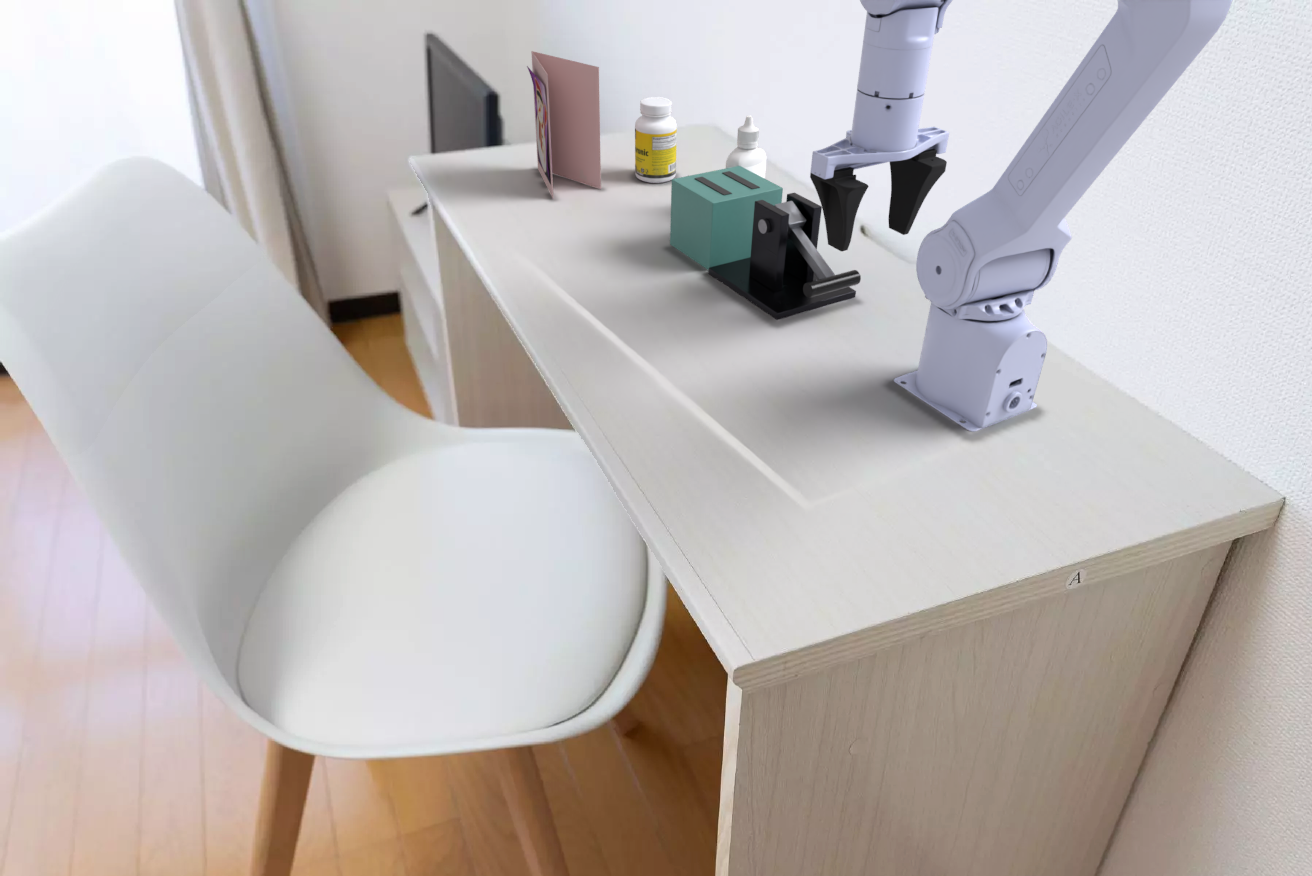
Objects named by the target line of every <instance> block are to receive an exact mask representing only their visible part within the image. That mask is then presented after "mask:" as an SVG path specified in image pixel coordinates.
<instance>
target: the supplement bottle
mask: <svg viewBox="0 0 1312 876" xmlns="http://www.w3.org/2000/svg"><path fill="white" fill-rule="evenodd" d="M672 105H673V101H672V100H671V99H669V98H666V97H661V96H650V97H649V96H648V97H645V98H643V99H641V100H640V102H639V113H640V114H641V116H639V117H638V118H637V119H636V121H635V123H634V174H635V178H637V179H638V180H640V181H641V182H645V183H650V184H660V183H661V184H662V183H667V182H671V181H672V179H675V178H676V175H677V142H678V141H677V136H678V134H677V133H678V124H677V121H676V119H675V118H674V117H673V116H671V115H672V110H673V109H672V108H673V106H672Z"/></svg>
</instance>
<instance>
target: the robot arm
mask: <svg viewBox="0 0 1312 876" xmlns="http://www.w3.org/2000/svg"><path fill="white" fill-rule="evenodd" d="M859 1H860V4H861V6H862V8H863V9H864V10H865V11H866V17H865V22H864V24H865V25H864V30H863V31H864V32H863V39H862V48H861V56H860V62H859V71H858V79H857V84H856V85H857V87H856V95H855V101H854V110H853V118H852V125H851V129H848V130H847V131H846V134H845V137H844V138H843V139H841V140H839V141H836V142H835V143H833V144H830V145H828V146H826V147H824V148H820V149H817V150H813V151H812V154H811V164H810V174H809V175H810V176H809V178H810V180H811V183H812V185H813V186H814V189H815V191H816V193H817V195H818V198H819V203H820V206H822V213H823V218H824V224H825V231H826V238H827V245H828V246H831V247H832V248H834V249H836V250H837V251H840V252H845V251H848V249H849V247H850V245H851V241H852V237H853V232H854V225H855V220H856V216H857V213H858V210H859V207H860V205H861V203H862V200H863V197H864V196H865V193H866V192H867V190H868V188H869V185H868V183H865V182H863V181H862V180H859V179H857V174H854V170H855V171H856V170H860V169H864V168H868V167H872V166H876V165H881V164H882V165H883V164H886V163H889V167H890V168H889V169H890V198H889V207H888V208H889V209H888V228H889V229H891V230H893V231H895V232H897V233H898V234H901V235H902V236H905V235H909V234H910V231H911V229H912V227H913V224H914V222H915V220H916V218H917V215H918V213H919V212H920V209H921V207H922V205H923V203H924V202H925V199H926V197H927V196H928V194H929V193H930V191H931V190H932V188H933V187H934V185H935V184H936V183H937V181H938V180H939V179H940V178H941V177H942V176H943V174H944V173H945V172H946V168H947V165H948V164H947V160H945V159H944V158H941V157H939V156H937V155H941V154H945V153H947V147H948V141H949V137H950V131H947V130H944V129H942V128H940V127H936V126H929V127H921V128H920V122H921V116H922V111H923V104H924V99H925V93H926V86H927V81H928V75H929V69H930V62H931V56H932V51H933V45H934V40H935V35H936V34H938V33H939V32H940V29H941V28H943V25H944V18H945V14H946V11H947V9H948V8H949V6H950V5H951V4H952V2H953V0H859ZM1233 1H1234V0H1117V9H1116V12H1115V13H1114V14H1113V16H1112V17H1111V19H1110V20H1109V22H1108V23H1107V25H1106V26H1105V27H1104V29H1103V30H1102V32H1100V34H1099V36H1098V37H1097V39H1096V40H1095V42H1094V43H1093V45H1091V47H1090V48H1089V50H1088V52H1087V53H1086V54H1085V56H1084V58H1083V59H1082V60H1081V62H1080V63H1079V64H1078V65H1077V67H1076V69H1075V70H1074V71H1073V73H1072V74H1071V76H1070V77H1069V79H1068V80H1067V81H1066V83H1065V84H1064V86H1063V87H1062V89H1061V90H1060V91H1059V93H1058V94H1057V95H1056V97H1055V99H1054V100H1053V101H1052V103H1051V104H1050V106H1049V107H1048V109H1047V110H1046V111H1045V113H1044V114H1043V115H1042V117H1041V118H1040V120H1039V122H1038V123H1037V124H1036V126H1035V127H1034V128H1033V130H1032V131H1031V133H1030V134H1029V135H1028V138H1027V139H1026V140H1025V141H1024V143H1023V145H1022V146H1021V147H1020V148H1019V150H1018V151H1017V153H1016V155H1014V157H1013V159H1012V160H1011V161H1010V163H1009V165H1008V166H1006V168H1005V170H1004V172H1003V173H1002V174H1001V176H1000V177H999V179H998V180H997V181H996V183H995V184H994V185H993V187H992V188H991V189H990V190H989V191H987V192H985V193H984V194H982V195H981V196H978V197H977V198H975V199H974V200H972V201H970V202H969V203H967V204H965V205H963V206H962V207H960V208H957V210H955V211H954V212H953V213H952V214H951V215H950V217H949V218H948V219H947V221H946V223H944V224H943V225H942V226H940V227H938V228H935V229H934V230H931V231H929V232H928V233H926V235H925V236H924V238H923V239H922V241H921V242H920V245H919V247H918V251H917V257H916V276H917V280H918V283H919V286H920V288H921V290H922V292H923V294H924V298H926V299H927V300H928V301H929V302H930V304H929V311H928V314H927V315H928V316H927V321H926V326H925V331H924V336H923V339H922V345H921V351H920V356H919V360H918V361H919V362H918V365H917V366H918V367H917V370H914V371H911V372H908V373H905V374H902V375H900V376H897V377H894V378H893V382H894V383H895V384H897V385H898V386H900V387H901V388H903V389H904V390H906V391H907V392H909V393H910V394H912V395H914V397H917V398H918V399H920V400H921V401H923V402H924V403H925V404H927V405H929V406H930V407H931V408H933V409H935V410H936V411H938V412H940V413H941V414H942V415H944V416H945V417H947V418H948V419H950V420H951V421H953V422H955V423H956V424H957V425H959V426H961V427H962V428H963V429H965V430H966V431H968V432H972V433H975V432H979V431H980V430H983V429H986V428H988V427H990V426H993V425H995V424H998V423H1001V422H1003V421H1006V420H1008V419H1011V418H1014V417H1016V416H1019V415H1021V414H1023V413H1026V412H1029V411H1032V410H1034V409H1036V408H1037V406H1038V405H1037V403H1036V402H1034V398H1035V395H1036V391H1037V388H1038V383H1039V380H1040V376H1041V373H1042V371H1043V366H1044V362H1045V359H1046V355H1047V351H1048V339H1047V336H1046V334H1045V333H1044V332H1043V331H1042V330H1041V329H1040V328H1038V327H1037V326H1036V325H1034V323H1033V322H1031V320H1030V319H1029V317H1028V316H1027V314H1026V311H1025V309H1024V308H1025V307H1026V306H1028V305H1031V304H1032V301H1033V297H1034V294H1035V291H1039V290H1041V289H1044V287H1046V286H1047V285H1048V284H1049V283H1050V282H1051V280H1052V279H1053V277H1054V276H1055V274H1056V271H1057V267H1058V263H1059V260H1060V257H1061V254H1062V253H1063V251H1064V249H1065V248H1066V246H1067V245H1068V244H1069V243H1070V242H1071V240H1072V239H1073V236H1072V232H1071V229H1070V227H1069V223H1068V221H1067V218H1066V216H1067V215H1068V214H1069V213H1070V212H1071V210H1072V209H1073V208H1074V207H1075V206H1076V204H1077V203H1078V202H1079V200H1080V199H1081V198H1082V197H1083V195H1084V194H1086V192H1087V191H1088V190H1089V188H1090V187H1092V184H1094V182H1095V181H1096V180H1097V179H1098V177H1100V175H1101V174H1102V172H1104V170H1105V169H1106V168H1107V166H1108V165H1109V164H1110V163H1111V162H1112V160H1113V159H1114V158H1115V157H1116V155H1118V153H1119V152H1120V151H1121V150H1122V148H1123V147H1124V145H1126V143H1127V142H1128V141H1129V140H1130V138H1131V137H1132V136H1133V135H1134V133H1135V132H1136V131H1137V130H1138V129H1139V127H1141V125H1142V124H1143V123H1144V121H1145V120H1146V119H1147V117H1148V116H1149V115H1150V114H1151V113H1152V112H1153V111H1154V109H1155V108H1156V107H1157V106H1158V104H1159V103H1160V102H1161V101H1162V99H1163V98H1164V97H1165V96H1166V95H1167V93H1168V92H1169V91H1170V90H1171V88H1172V87H1173V86H1174V85H1175V84H1176V82H1177V81H1178V80H1179V79H1180V77H1181V76H1182V75H1183V74H1184V73H1185V71H1186V70H1187V69H1188V68H1189V66H1190V65H1191V64H1192V63H1193V62H1194V60H1195V59H1196V58H1197V57H1198V56H1199V54H1200V53H1201V52H1202V51H1203V50H1204V48H1205V47H1206V46H1207V45H1208V43H1209V42H1210V41H1211V40H1212V39H1213V37H1214V36H1215V35H1216V33H1218V31H1219V30H1220V28H1221V26H1222V24H1223V23H1224V22H1225V20H1226V19H1227V16H1228V14H1229V11H1230V9H1231V6H1232V3H1233ZM961 421H962V422H961Z"/></svg>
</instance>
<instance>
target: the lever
mask: <svg viewBox="0 0 1312 876" xmlns="http://www.w3.org/2000/svg"><path fill="white" fill-rule="evenodd" d="M774 206H775V207H777V208H779V209H781V210H783V211H785V212H787V213H788V214H789V224H788V234H787V240H789V239H791V241H792V242H793V243H794V245H795V246H796V248H797V249H798V250H799V252H800V253H801V254H802V256H803V257H804V259H805V260H806V261H807V263H808V264H809V266H810V267H811V268H812V270H813V271H814V273H815V274H816V275H817V277H818V278H819V280H815V281H812V282H808V283H805V284H804V286H803V292H804V295H805V296H806V297H807V298H811V297H814V296H818V295H822V294H825V293H829V292H832V291H836V290H839V289H843V288H846V287H850V288H851V287H853V286H857V285H859V284H860V283H861V279H862V277H861V274H860V272H859V271H858V270H857V269H852V270H848V271H845V272H841V273H837V274H835V272H834V271H833V270H832V268H831V267H830V266H829V265H828V263H827V262H826V260H825V258H823V256H822V255H821V253H820V252H819V251H818V248H817V249H816V248H815V247H814V245H813V244H812V243H811V241H810V240H809V238H808V237H807V236H806V234H805V233H804V232H803V230H802V228H803V226H804V224H805V223H806V219H805V217H804V216H803V215H802V213H801V212H800V211H799V209H798V208H797V207H796V205H795V204H794V203H793V201H788V202H786V201H784V202H782V203H779V204H775V205H774Z"/></svg>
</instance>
